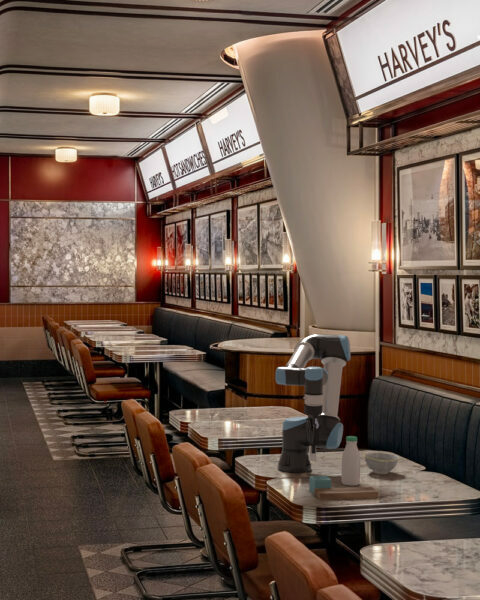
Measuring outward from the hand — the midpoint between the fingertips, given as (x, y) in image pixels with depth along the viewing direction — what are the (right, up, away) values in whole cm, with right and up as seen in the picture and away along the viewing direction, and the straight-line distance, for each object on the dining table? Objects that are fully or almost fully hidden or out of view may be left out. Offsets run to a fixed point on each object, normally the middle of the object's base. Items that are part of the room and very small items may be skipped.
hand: (312, 460), depth 368 cm
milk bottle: (+16, -11, +4) cm, 20 cm away
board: (+12, -11, -17) cm, 24 cm away
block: (+2, -11, -12) cm, 16 cm away
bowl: (+33, -11, +27) cm, 44 cm away
